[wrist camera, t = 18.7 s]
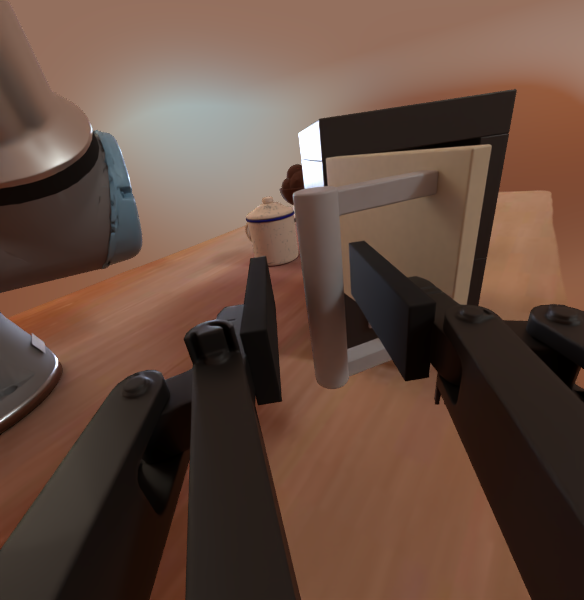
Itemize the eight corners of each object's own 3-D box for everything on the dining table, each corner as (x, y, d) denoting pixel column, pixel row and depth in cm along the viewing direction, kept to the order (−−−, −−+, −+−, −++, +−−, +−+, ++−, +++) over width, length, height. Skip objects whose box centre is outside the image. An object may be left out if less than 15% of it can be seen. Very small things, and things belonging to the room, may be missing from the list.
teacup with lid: (309, 253, 58) (302, 191, 52) (278, 269, 52) (267, 202, 47) (266, 248, 65) (256, 193, 60) (235, 261, 59) (221, 202, 54)
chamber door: (335, 411, 12) (313, 175, 8) (265, 307, 22) (238, 172, 18) (458, 359, 14) (493, 143, 10) (344, 283, 24) (337, 156, 19)
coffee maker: (475, 344, 27) (523, 87, 18) (339, 366, 27) (320, 117, 18) (411, 286, 39) (421, 114, 30) (316, 301, 39) (298, 132, 30)
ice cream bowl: (277, 223, 87) (268, 168, 80) (303, 214, 93) (297, 163, 86) (301, 225, 79) (294, 166, 73) (328, 216, 86) (324, 160, 79)
